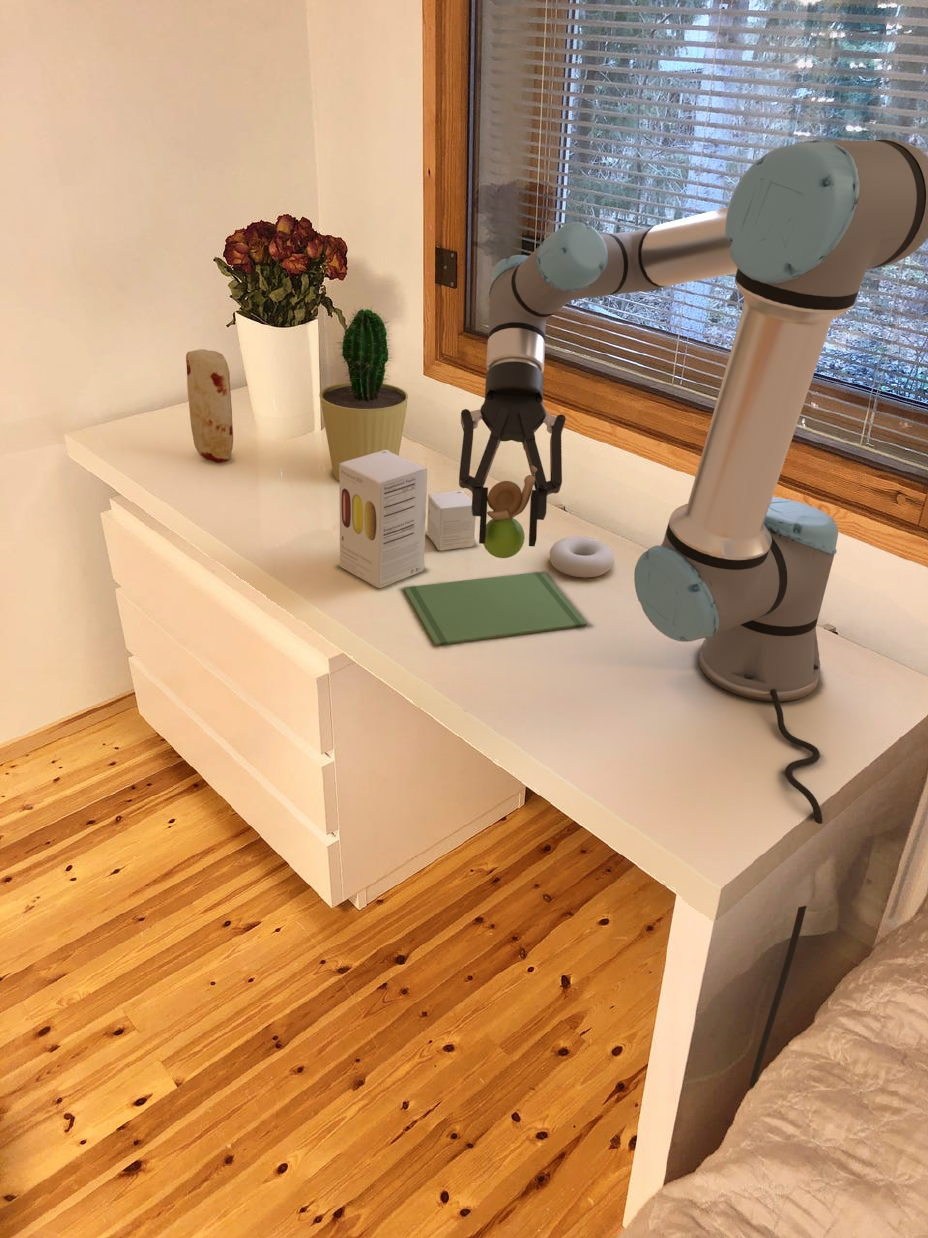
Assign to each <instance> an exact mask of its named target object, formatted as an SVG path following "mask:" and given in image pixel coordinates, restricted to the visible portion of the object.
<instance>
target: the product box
mask: <svg viewBox="0 0 928 1238" xmlns="http://www.w3.org/2000/svg"><path fill="white" fill-rule="evenodd" d="M427 499H428V500H427V524H426V526H427V527H426V536H427V537H428V538H429V539H430V540H431V542H432V543H433V544H434V546H435V547H436V549H437V550H438V551H439V552H441V551H448V550H456V549H464V548H472V547H474V546H475V533H476V519H477V516H473V515H472V512H471V511H472V498H471V497H470V496H468V494H467V493H466V492H465V491H464V490H454V491H453V490H452V491H445V492H444V491H443V492H436V493H435V492H434V493H428V495H427Z"/></svg>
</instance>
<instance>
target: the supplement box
mask: <svg viewBox="0 0 928 1238" xmlns="http://www.w3.org/2000/svg"><path fill="white" fill-rule="evenodd" d="M339 477H340V481H339V567H340V568H342V569H344V570H345V571H347V572H349V573H351V574H352V575H354V576H356V577H357V578H359V579H361V580H362V581H365V582H366V583H367V584H370V585H372V586H373V587H375V588H377V589H382V588H384V587H387V586H389V585H392V584H394V583H397V582H399V581H402V580H404V579H407V578H409V577H412V576H414V575H416V574H419V573H422V572H424V569H425V548H426V547H425V545H426V543H425V542H426V519H427V514H426V513H427V493H428V492H427V491H428V467H426V466H423V465H421V464H418V463H416V462H414V461H411V460H409V459H407V458H404V457H402V456H400V455H399V456H398V455H396V454H394V453H392V452H390V451H388V450H383V451H379V452H376V453H373V454H369V455H366V456H362V457H359V458H356V459H352V460H348V461H345V462H342V463H340V464H339Z"/></svg>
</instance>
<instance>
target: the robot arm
mask: <svg viewBox="0 0 928 1238" xmlns="http://www.w3.org/2000/svg"><path fill="white" fill-rule="evenodd" d="M926 241H928V155H927V154H925V152H924V151H922V150H921V149H919V148H918V147H916V146H914V145H912V144H909V143H907V142H903V141H902V140H895V139H875V140H822V139H813V140H805V141H803V142H798V143H793V144H788V145H787V144H786V145H783V146H780V147H778V148H777V147H776V148H774V149H773V150H770V151H768V152H767V153H765V154H764V155H763V156H762V157H760V158H758V159H757V160H756V161H754V163H753V164H752V165H751V166H749V168H748V169H747V170H746V171H745V172H744V174H743V175H742V176H741V178H740V179H739V181H738V183H737V185H736V186H735V189H734V191H733V193H732V195H731V197H730V200H729V204H728V206H727V207H722V208H719V209H715V210H712V211H707V212H704V213H700V214H696V215H692V216H688V217H685V218H680V219H677V220H672V221H669V222H665V223H661V224H657V225H652V226H648V227H644V228H640V229H637V230H632V231H624V232H615V233H599V232H598V230H597V229H595V228H594V227H593V226H588V225H585V224H584V223H583V222H581V221H572V222H568V223H565V224H564V225H562V226H561V227H559V228H558V229H557V230H556V231H554V232H552V233H551V234H550V235H548V236H547V237H546V238H545V239H544V240H543V241H542V243H541V244H539V246H538V247H536V248H535V250H533V252H531V254H529V255H525V254H516V255H510V257H509V258H503V259H501V260H500V261H498V262H497V263H496V265H495V266H494V268H493V270H492V274H491V280H490V281H491V282H490V285H489V290H488V298H489V307H488V328H487V329H488V333H487V338H488V339H487V347H486V348H487V349H486V365H485V366H486V374H485V385H484V386H485V387H484V388H485V389H484V400H483V403H482V405H481V406H480V409H476V410H471V411H470V410H469V409H467V408H464V409H462V410H461V411H460V424H461V428H462V433H463V436H462V437H463V438H462V445H461V453H460V454H461V455H460V464H459V472H458V473H459V475H458V486H459V487H460V488H461V489H467V490H469V491H470V492H471V494H472V497H471V500H472V511H471V512H472V515H473V516H476V517H479V518H480V519H479V533H478V544H480V545H483V544H485V538H486V524H487V518H488V514H487V512H488V494H489V487H488V486H487V487H485V484H486V481H487V479H488V475H489V473H490V470H491V468H492V465H493V463H494V459H495V457H496V454H497V451H498V449H499V447H500V444H501V442H510V441H513V442H516V443H521V444H522V448H523V451H524V452H525V456H526V460H527V463H528V467H529V471H530V475H532V469H531V466H534V467H535V468H537V471H536V472H534V471H533V475H532V476H534V475H535V483H534V485H533V487H534V489H532V492H531V495H530V500H529V502H530V504H529V505H530V506H529V526H528V527H529V529H528V530H529V531H528V547H536V543H537V535H538V521H544V520H545V518H546V515H547V506H548V505H547V503H548V496H549V495H551V494H558V493H559V492H560V491H561V487H562V483H563V470H562V469H563V463H562V462H563V460H562V458H563V457H562V453H563V452H562V433H563V431H564V428H565V424H566V420H567V418H566V416H565V415H564V414H558V415H553V414H551V413H547V409H546V408H545V405H544V383H545V381H544V380H545V379H544V376H545V375H544V370H545V356H546V355H545V353H546V352H545V351H546V349H545V348H546V329H547V328H546V327H547V326H546V325H547V320H548V319H550V318H551V317H552V316H554V315H555V314H556V313H557V312H558V311H561V309H562V308H563V307H565V306H566V305H567V304H568V303H570V302H572V301H575V300H582V299H592V298H599V297H607V296H612V295H619V294H620V295H621V294H629V293H638V292H652V291H658V290H661V289H664V288H668V287H670V286H674V285H680V284H686V283H691V282H697V281H701V280H708V279H712V278H719V277H724V276H730V275H735V276H734V284H735V285H736V287H737V288H738V290H739V292H740V294H741V295H742V297H743V300H744V303H743V306H742V310H741V313H740V317H739V320H738V324H737V328H736V331H735V335H734V338H733V342H732V346H731V349H730V352H729V356H728V360H727V363H726V367H725V370H724V374H723V377H722V381H721V385H720V388H719V393H718V396H717V399H716V402H715V406H714V408H713V412H712V417H711V420H710V424H709V428H708V431H707V435H706V437H705V441H704V446H703V449H702V451H701V456H700V460H699V462H698V466H697V470H696V474H695V477H694V479H693V483H692V487H691V492H690V494H689V497H688V502H687V503H685V504H683V505H681V506H678V507H677V508H675V509H674V510H673V511H672V513H671V514H670V516H669V519H668V523H667V527H666V530H665V533H664V538H663V541H662V543H661V544H660V545H654V546H652V547H650V548H648V549H647V550H645V551H644V552H643V553H642V554H641V555H640V556H639V557H638V560H637V561H636V564H635V567H634V575H633V577H634V578H633V579H634V580H633V581H634V588H635V589H634V590H635V593H636V597H637V601H638V602H639V603H640V606H641V609H642V611H643V613H644V615H645V616H646V617H647V619H648V620H649V622H650V623H651V624H652V626H653V627H654V628H655V629H656V630H658V631H659V632H660V633H661V634H663V635H664V636H665V637H667V638H669V639H671V640H674V641H677V642H681V643H687V642H694V641H698V640H701V639H704V640H703V643H702V645H701V647H700V651H699V659H698V662H699V667H700V669H701V671H702V672H703V673H704V675H705V676H706V677H707V678H708V679H709V680H710V681H711V682H712V683H714V684H715V685H717V686H718V687H720V688H722V689H724V690H725V691H728V692H730V693H732V694H735V695H737V696H740V697H743V698H747V699H752V700H755V701H756V700H757V701H762V702H772V703H773V706H774V711H775V713H776V719H777V720H776V721H777V726H778V730H779V732H780V734H781V736H782V737H784V739H786V740H787V741H788V742H790V743H792V744H793V745H796V746H798V747H801V748H803V749H806V750H808V751H809V752H811V754H812V755H811V756H809V757H806V758H802V759H797V760H793V761H792V762H789V764H787V765H786V767H785V770H784V774H785V778H786V780H787V782H788V783H789V784H790V785H791V786H792V787H794V788H795V789H796V790H797V791H798V792H799V793H801V794H802V795H803V796H804V797H805V798H806V799H807V801H808V803H809V804H810V807H811V810H812V811H813V817H814V823H816V824H819V825H822V824H823V814H822V810H821V806H820V803H819V801H818V799H817V798H816V797H815V795H814V793H812V792H811V791H810V790H809V789H808V788H807V787H806V786H805V785H803V783H801V782H800V781H799V780H797V778H795V776H794V775H793V772H794V770H795V769H797V768H801V767H805V766H808V765H809V766H810V765H812V764H815V763H817V762H818V761H819V759H820V758H821V757H820V756H821V753H820V750H819V748H818V747H817V746H815V745H814V744H812V743H810V742H807V741H805V740H803V739H801V738H798V737H796V736H794V735H793V734H791V733H790V732H789V731H788V729H787V727H786V725H785V718H784V711H783V709H782V705H781V702H790V701H795V700H799V699H802V698H804V697H806V696H808V695H810V694H811V693H812V692H814V690H815V689H816V687H817V685H818V682H819V678H820V674H821V660H820V651H819V644H818V636H817V625H818V620H819V616H820V614H821V613H820V612H821V608H822V604H823V602H824V596H825V594H826V590H827V586H828V581H829V577H830V574H831V569H832V566H833V562H834V558H835V555H836V554H837V542H838V538H839V527H838V525H837V523H836V521H835V520H834V518H832V517H831V516H830V515H828V513H826V512H825V511H823V510H820V509H818V508H816V507H814V506H811V505H809V504H806V503H803V502H800V501H796V500H793V499H789V498H783V497H778V496H777V497H776V496H774V494H775V491H776V488H777V486H778V483H779V479H780V476H781V473H782V470H783V467H784V464H785V461H786V458H787V455H788V452H789V450H790V447H791V443H792V441H793V438H794V435H795V431H796V428H797V426H798V422H799V420H800V417H801V414H802V410H803V407H804V404H805V401H806V398H807V396H808V392H809V390H810V387H811V384H812V381H813V377H814V374H815V371H816V368H817V366H818V363H819V359H820V358H821V357H820V356H821V353H822V350H823V349H824V345H825V341H826V339H827V336H828V333H829V330H830V327H831V324H832V321H833V320H834V319H836V318H838V317H839V316H841V315H843V314H844V313H847V312H848V311H850V310H852V309H853V308H854V305H855V303H856V300H857V297H858V294H859V292H860V289H861V286H862V283H863V281H864V277H865V275H866V272H867V270H872V269H876V268H883V267H886V266H890V265H893V264H896V263H898V262H900V261H902V260H904V259H906V258H908V257H909V256H911V255H912V254H913V253H915V252H916V251H917V250H919V249H920V248H921V247H922V246H923V245H924V243H926ZM481 420H482V421H483V423H484V424H485V426H486V427H487V429H488V430H489V431H490V434H489V438H488V441H487V442H486V447H485V449H484V451H483V454H482V456H481V459H480V463H479V464H478V468H477V470H476V473H475V476H472V475H470V473H471V471H470V470H471V462H472V452H473V443H474V430H475V429H477V428H478V427H479V422H480V421H481ZM543 424H545V425H546V431H547V433H548V434H550V438H549V439H550V440H549V461H550V463H549V466H550V467H549V473H550V474H549V476H550V478H549V479H550V480H548V481H547V478H546V475H545V471H544V467H543V463H542V460H541V456H540V452H539V449H538V445H537V441H536V435H535V433H536V432H537V430H538V429H539V428H540V427H541V426H542V425H543ZM806 910H807V905H803V906H799V907H797V912H796V916H795V920H794V925H793V928H792V933H791V936H790V940H789V943H788V947H787V951H786V955H785V959H784V962H783V964H782V965H783V966H782V968H781V973H780V976H779V980H778V983H777V986H776V990H775V994H774V996H773V1000H772V1002H771V1007H770V1010H769V1012H768V1016H767V1020H766V1023H765V1025H764V1031H763V1033H762V1036H761V1040H760V1043H759V1047H758V1051H757V1053H756V1057H755V1061H754V1064H753V1068H752V1070H751V1071H752V1072H751V1076H750V1079H749V1084H748V1085H749V1086H750V1087H751V1088H754V1087H753V1086H754V1085H755V1083H756V1084H757V1081H758V1078H759V1075H760V1071H761V1067H762V1064H763V1060H764V1057H765V1054H766V1051H767V1047H768V1043H769V1040H770V1037H771V1034H772V1030H773V1026H774V1023H775V1020H776V1018H777V1013H778V1010H779V1007H780V1003H781V1000H782V998H783V994H784V990H785V987H786V983H787V980H788V977H789V974H790V971H791V967H792V964H793V960H794V956H795V953H796V949H797V945H798V942H799V937H800V935H801V931H802V926H803V924H804V923H803V922H804V919H805V914H806Z"/></svg>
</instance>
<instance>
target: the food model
mask: <svg viewBox="0 0 928 1238" xmlns="http://www.w3.org/2000/svg"><path fill="white" fill-rule="evenodd" d="M185 364H186V365H185V366H186V382H187V383H186V384H187V386H186V387H187V398H188V407H189V408H188V409H189V420H190V427H191V434H192V439H193V444H194V447H195V450H196V452H197V453H198V454H199V456H201V457H202V458H203V459H204V460H208V461H210V462H213V463H216V464H221V463H224V462H228V461H230V460H231V457H232V451H233V449H234V428H233V427H234V425H233V424H234V423H233V405H232V392H231V375H230V369H229V365H228V362H227V359H226V358H225V356H224V355H223V353H221V352H219V351H216V350H208V349H204V348H203V349H202V348H201V349H200V348H199V349H195V350H190V351H188V352H186V354H185Z"/></svg>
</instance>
